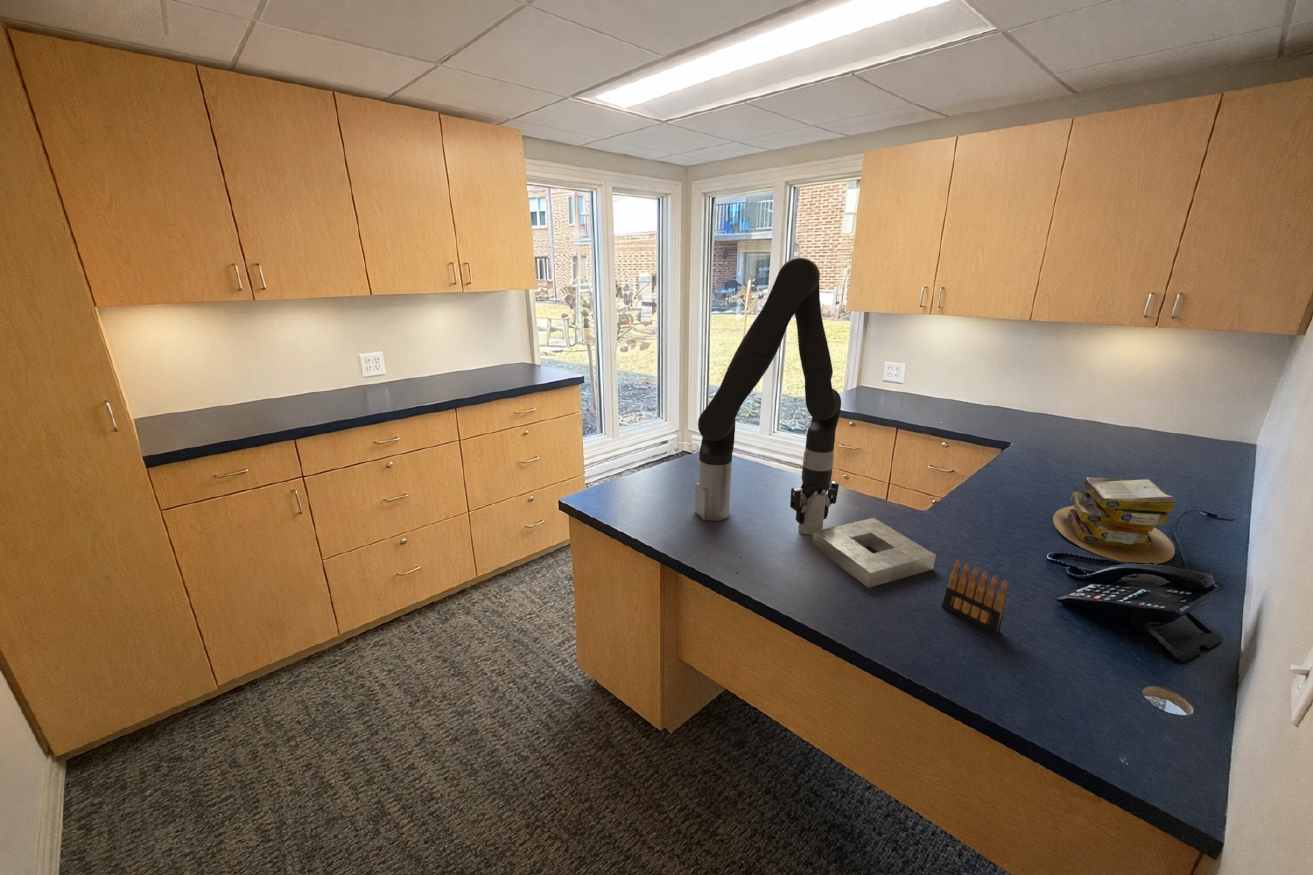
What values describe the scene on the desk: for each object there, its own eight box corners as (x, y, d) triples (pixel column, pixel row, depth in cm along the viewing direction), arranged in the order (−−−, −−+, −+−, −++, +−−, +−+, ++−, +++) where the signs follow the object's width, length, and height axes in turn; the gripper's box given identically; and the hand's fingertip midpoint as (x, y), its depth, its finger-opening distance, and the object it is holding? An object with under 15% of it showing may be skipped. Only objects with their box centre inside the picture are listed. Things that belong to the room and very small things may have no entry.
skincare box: (822, 530, 141) (827, 490, 137) (820, 537, 137) (825, 497, 133) (800, 525, 143) (804, 486, 139) (797, 532, 140) (801, 492, 136)
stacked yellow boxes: (1187, 575, 121) (1212, 512, 115) (1058, 547, 132) (1075, 489, 127) (1155, 530, 141) (1176, 475, 135) (1046, 509, 152) (1060, 457, 147)
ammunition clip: (941, 606, 110) (951, 558, 106) (945, 603, 111) (956, 555, 107) (995, 634, 102) (1009, 583, 98) (999, 630, 103) (1013, 580, 99)
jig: (868, 587, 116) (870, 572, 115) (812, 544, 134) (813, 531, 132) (932, 569, 123) (935, 554, 122) (871, 530, 141) (873, 517, 139)
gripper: (804, 473, 128) (798, 531, 133) (849, 465, 133) (842, 521, 138) (786, 463, 134) (781, 519, 140) (830, 455, 139) (823, 510, 145)
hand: (811, 520), depth 139 cm, fingers closed on skincare box, 7 cm apart
